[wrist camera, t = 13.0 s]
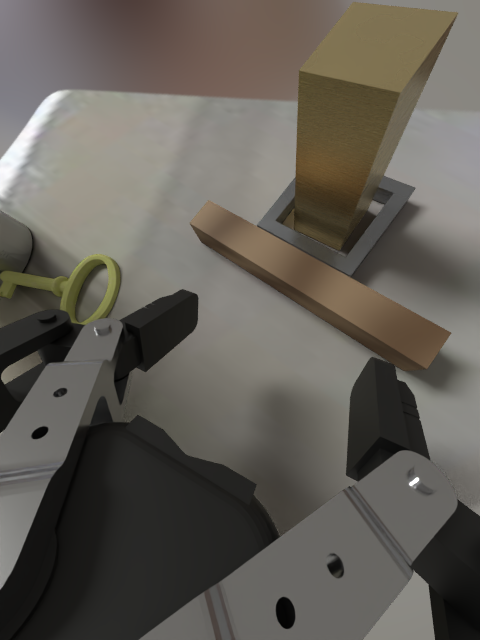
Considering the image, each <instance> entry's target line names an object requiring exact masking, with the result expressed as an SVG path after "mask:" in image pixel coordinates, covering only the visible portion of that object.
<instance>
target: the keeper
mask: <svg viewBox="0 0 480 640" xmlns="http://www.w3.org/2000/svg"><path fill="white" fill-rule="evenodd" d="M295 180H296V177H295V178H294V180H293V181H292V182H291V183H290V185H289V186H288V187H287V188H286V190H285V191H284V192H283V193H282V195H281V196H280V197H279V198H278V200H277V201H276V202H275V203H274V205H273V206H272V207H271V208H270V210H269V211H268V212H267V213H266V215H265V216H264V217H263V218H262V220H261V221H260V222H259V223H258V225H257V227H259V228H261V229H263V230H264V231H266V232H268V233H270V234H272V235H273V236H275V237H277V238H279V239H281V240H283V241H284V242H286V243H288V244H290V245H292V246H294V247H295V248H297V249H299V250H301V251H303V252H305V253H306V254H308V255H310V256H312V257H314V258H315V259H317V260H319V261H321V262H323V263H325V264H326V265H328V266H330V267H332V268H334V269H336V270H337V271H339V272H341V273H343V274H345V275H347V276H348V277H350V278H351V276H352V275H353V274H354V272H355V271H356V270H357V268H358V267H359V265H360V264H361V263H362V261H363V260H364V259H365V257H366V256H367V255H368V253H369V252H370V251H371V249H372V248H373V247H374V245H375V244H376V243H377V241H378V240H379V238H380V237H381V236H382V234H383V233H384V232H385V230H386V229H387V228H388V226H389V225H390V224H391V222H392V221H393V220H394V218H395V217H396V216H397V214H398V213H399V211H400V210H401V209H402V207H403V206H404V205H405V203H406V202H407V201H408V199H409V198H410V196H411V195H412V193H413V192H414V190H415V187H412V186H409V185H407V184H404V183H401V182H399V181H396V180H393V179H391V178H388V177H385V176H383V178H382V180H381V182H380V184H379V186H378V189H377V191H376V193H375V195H374V197H373V200H375V201H378V202H380V203H383V204H385V206H384V207H383V208H382V210H381V211H380V212H379V214H378V215H377V216H376V218H375V219H374V220H373V222H372V223H371V224H370V226H369V227H368V228H367V230H366V231H365V232H364V234H363V235H362V236H361V238H360V239H359V240H358V242H357V243H356V244H355V246H354V247H353V248H352V250H351V251H350V252H349V254H348V255H347V256H346V257H344V256H342V255H340V254H338V253H336V252H334V251H332V250H330V249H328V248H327V247H325V246H323V245H321V244H319V243H317V242H315V241H313V240H311V239H309V238H307V237H305V236H303V235H302V234H300V233H298V232H296V231H294V230H292V229H290V228H288V227H286V226H284V225H282V224H281V223H282V222H283V221H284V220H285V218H286V217H287V216H288V215H289V213H290V212H291V211H292V210H293V208H294V207H295Z"/></svg>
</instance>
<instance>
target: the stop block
mask: <svg viewBox="0 0 480 640" xmlns="http://www.w3.org/2000/svg"><path fill="white" fill-rule="evenodd" d="M457 15H458V13H457V12H446V11H437V10H426V9H417V8H406V7H397V6H386V5H376V4H367V3H357V2H353V3H352V4H351V5H350V7H349V8H348V9H347V11H346V12H345V13H344V14H343V16H342V17H341V18H340V19H339V21H338V22H337V23H336V24H335V26H334V27H333V28H332V30H331V31H330V32H329V33H328V35H327V36H326V37H325V38H324V40H323V41H322V42H321V44H320V45H319V46H318V47H317V49H316V50H315V51H314V52H313V54H312V55H311V56H310V57H309V59H308V60H307V61H306V62H305V64H304V65H303V66H302V68H301V69H300V70H299V87H298V88H299V89H298V118H297V149H296V180H295V211H294V230H296V231H298V232H300V233H302V234H305V235H307V236H309V237H311V238H313V239H315V240H317V241H319V242H321V243H324V244H326V245H328V246H330V247H332V248H334V249H336V250H338V251H340V249H341V248H342V246H343V245H344V244H345V242H346V241H347V239H348V238H349V236H350V235H351V233H352V232H353V231H354V229H355V228H356V226H357V225H358V223H359V222H360V221H361V219H362V218H363V216H364V215H365V213H366V212H367V210H368V208H369V206H370V204H371V202H372V200H373V197H374V195H375V193H376V191H377V189H378V186H379V184H380V182H381V180H382V178H383V176H384V173H385V171H386V169H387V167H388V165H389V163H390V160H391V158H392V156H393V154H394V152H395V150H396V147H397V145H398V143H399V141H400V139H401V136H402V134H403V132H404V130H405V128H406V126H407V123H408V121H409V119H410V117H411V115H412V113H413V110H414V108H415V106H416V104H417V102H418V99H419V97H420V95H421V93H422V91H423V89H424V86H425V84H426V82H427V80H428V78H429V76H430V73H431V71H432V69H433V67H434V65H435V63H436V60H437V58H438V56H439V54H440V52H441V49H442V47H443V45H444V43H445V41H446V39H447V36H448V34H449V32H450V30H451V27H452V26H453V23H454V21H455V19H456V17H457Z"/></svg>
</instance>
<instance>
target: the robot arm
mask: <svg viewBox="0 0 480 640" xmlns="http://www.w3.org/2000/svg"><path fill="white" fill-rule="evenodd" d="M31 250H32V236H31V233H30V231H29V229H28V228H27V227H26V226H25V225H24V224H22V223H21V222H19V221H17V220H16V219H14V218H12V217H11V216H9V215H7V214H6V213H4V212H2V211H0V274H1V273H2V272H3V271H13V272H19V273H22V271H23V270H24V268H25V266H26V264H27V262H28V260H29V257H30V255H31ZM2 283H3V281H2V280H1V278H0V287H1V285H2ZM197 321H198V295H197V294H195V293H192V292H189V291H186V290H184V289H182V290H180V291H178V292H176V293H174V294H173V295H169V296H166V297H162V298H159V299H157V300H155V301H154V302H152V304H148V305H146V306H145V308H144V307H143V308H141V309H139V310H137V311H136V312H134V313H132V314H130V315H128V316H127V317H125V318H123V319H121V320H117V319H112V318H103V319H98V320H94V321H92V322H90V323H88V324H86V325H83V324H77V323H72V322H71V319H70V316H69V314H68V312H66V311H63V310H46V311H41V312H38V313H35V314H33V315H31V316H28V317H26V318H23V319H21V320H19V321H16V322H14V323H12V324H9V325H7V326H4V327H2V328H0V433H1V432H2V431H3V430H4V432H3V434H2V435H1V437H0V640H363V639H364V637H365V636H366V635H367V634H368V632H369V631H370V630H371V629H372V627H373V626H374V625H375V623H376V622H377V621H378V620H379V618H380V617H381V616H382V615H383V613H384V612H385V611H386V610H387V608H388V607H389V606H390V605H391V603H392V602H393V601H394V600H395V598H396V597H397V596H398V594H399V593H400V592H401V591H402V590H403V588H404V587H405V586H406V584H407V583H408V582H409V580H410V579H411V577H412V575H413V570H414V571H415V572H416V573H418V574H419V576H421V577H422V578H423V579H424V580H425V581H426V582H427V583H428V584H429V592H430V600H431V609H432V617H433V625H434V634H435V640H480V516H479V515H478V514H476V513H475V512H473V511H472V510H471V509H469V508H468V507H467V506H465V505H464V504H463V503H462V502H460V501H459V500H458V499H457V496H456V493H455V490H454V488H453V486H452V485H451V483H450V481H449V480H448V478H447V477H446V476H445V475H444V473H443V472H442V471H441V470H440V469H439V468H438V467H437V466H436V465H435V464H433V463H432V462H431V461H430V457H429V453H428V449H427V445H426V441H425V437H424V433H423V429H422V425H421V421H420V420H419V418H420V417H419V413H418V410H417V405H416V401H415V397H414V394H413V393H412V392H411V390H410V389H409V387H408V386H407V385H406V383H405V382H402V381H399V380H397V375H396V370H395V366H394V364H391V363H388V362H385V361H383V360H380V359H377V358H374V357H371V358H370V359H369V361H368V362H367V364H366V366H365V367H364V369H363V371H362V372H361V374H360V376H359V377H358V379H357V380H356V382H355V384H354V386H353V389H352V392H351V396H350V412H349V431H348V449H347V468H346V476H348V477H350V478H352V479H354V480H356V481H358V482H357V483H356V484H355V485H353V486H352V487H350V486H349V487H347V488H346V489H344V490H343V491H341V492H340V493H338V494H337V495H336V496H334V497H333V498H332V499H330V500H329V501H328V502H326V503H325V504H324V505H322V506H321V507H320V508H318V509H317V510H316V511H314V512H313V513H312V514H310V515H309V516H308V517H306V518H305V519H304V520H302V521H301V522H300V523H298V524H297V525H296V526H294V527H293V528H292V529H290V530H289V531H288V532H286V533H285V534H284V535H282V536H281V537H280V536H279V534H278V532H277V529H276V527H275V525H274V523H273V521H272V519H271V518H270V516H269V514H268V513H267V511H266V510H265V508H264V507H263V506H262V504H261V503H260V502H259V501H258V500H257V499H256V498H255V496H254V495H253V494H254V491H255V488H256V485H257V484H255V483H253V482H252V481H250V480H248V479H247V478H245V477H243V476H241V475H240V474H238V473H236V472H235V471H233V470H231V469H229V468H228V467H226V466H224V465H222V464H218V463H214V462H210V461H206V460H202V459H198V458H194V457H190V456H188V455H186V454H185V453H184V452H183V451H182V450H181V449H180V448H179V447H178V446H177V445H176V443H175V442H174V441H173V440H172V439H171V438H170V437H169V436H168V434H167V433H166V432H165V431H164V430H163V429H161V428H159V427H158V426H156V425H154V424H153V423H151V422H149V421H148V420H146V419H144V418H142V417H141V416H139V415H137V416H136V417H135V418H134V419H133V420H132V421H131V422H130V423H126V422H124V411H125V406H126V402H127V397H128V393H129V388H130V384H131V379H132V370H133V369H135V368H136V367H137V368H139V369H141V370H142V371H144V372H146V371H148V370H149V369H150V368H151V367H152V366H153V365H154V364H156V363H157V362H158V361H159V360H160V359H161V358H163V357H164V356H165V355H166V354H167V353H168V352H170V351H171V350H172V349H173V348H174V347H175V346H177V345H178V344H179V343H180V342H181V341H182V340H184V339H185V338H186V337H187V336H188V335H189V334H191V333H192V332H193V331H194V329H195V328H196V325H197ZM35 351H38V353H39V355H40V357H41V359H42V361H43V362H42V363H41V364H39V365H37V366H35V367H34V368H32V369H30V370H29V371H27V372H25V373H24V374H22V375H20V376H19V377H17V378H15V379H14V380H12V381H10V382H9V383H7V384H5V385H4V383H3V382H2V380H1V374H2V372H3V371H4V369H5V368H7V367H8V366H9V365H11V364H13V363H15V362H17V361H19V360H20V359H22V358H24V357H26V356H28V355H30V354H31V353H33V352H35Z"/></svg>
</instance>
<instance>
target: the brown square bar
mask: <svg viewBox="0 0 480 640" xmlns="http://www.w3.org/2000/svg"><path fill="white" fill-rule="evenodd" d="M190 225H191V226H192V228H193V230H194V231H195V233H196V234H197V236H198V237H199V239H200V241H201V242H202V243H204V244H206V245H207V246H209V247H210V248H212V249H213V250H215V251H217V252H218V253H220V254H221V255H223V256H224V257H226V258H228V259H229V260H231V261H232V262H234V263H235V264H237V265H239V266H240V267H242V268H243V269H245V270H246V271H248V272H250V273H251V274H253V275H254V276H256V277H257V278H259V279H260V280H262V281H264V282H265V283H267V284H268V285H270V286H271V287H273V288H275V289H276V290H278V291H279V292H281V293H282V294H284V295H286V296H287V297H289V298H290V299H292V300H293V301H295V302H297V303H298V304H300V305H301V306H303V307H304V308H306V309H308V310H309V311H311V312H312V313H314V314H315V315H317V316H319V317H320V318H322V319H323V320H325V321H326V322H328V323H330V324H331V325H333V326H334V327H336V328H337V329H339V330H341V331H342V332H344V333H345V334H347V335H348V336H350V337H352V338H353V339H355V340H356V341H358V342H359V343H361V344H363V345H364V346H366V347H367V348H369V349H370V350H372V351H374V352H375V353H377V354H378V355H380V356H381V357H383V358H385V359H386V360H388V361H389V362H391V363H392V364H394V365H396V366H397V367H399V368H400V369H402V370H403V371H410V370H422V369H427V368H428V367H429V365H430V364H431V362H432V361H433V359H434V358H435V356H436V355H437V354H438V352H439V351H440V349H441V348H442V346H443V345H444V343H445V342H446V340H447V339H448V337H449V336H450V334H451V332H449V331H447V330H445V329H443V328H442V327H440V326H438V325H436V324H434V323H432V322H431V321H429V320H427V319H425V318H423V317H421V316H420V315H418V314H416V313H414V312H412V311H411V310H409V309H407V308H405V307H403V306H401V305H400V304H398V303H396V302H394V301H392V300H390V299H389V298H387V297H385V296H383V295H381V294H379V293H378V292H376V291H374V290H372V289H370V288H368V287H367V286H365V285H363V284H361V283H359V282H358V281H356V280H354V279H352V278H350V277H348V276H347V275H345V274H343V273H341V272H339V271H337V270H336V269H334V268H332V267H330V266H328V265H326V264H325V263H323V262H321V261H319V260H317V259H315V258H314V257H312V256H310V255H308V254H306V253H305V252H303V251H301V250H299V249H297V248H295V247H294V246H292V245H290V244H288V243H286V242H284V241H283V240H281V239H279V238H277V237H275V236H273V235H272V234H270V233H268V232H266V231H264V230H263V229H261V228H259V227H257V226H255V225H253V224H252V223H250V222H248V221H246V220H244V219H242V218H241V217H239V216H237V215H235V214H233V213H231V212H230V211H228V210H226V209H224V208H222V207H220V206H219V205H217V204H215V203H213V202H211V201H210V200H208V201H207V203H206V204H205V205H204V206H203V207H202V209H201V210H200V211H199V212H198V213H197V215H196V216H195V217H194V218H193V219H192V221H191V222H190Z"/></svg>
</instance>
